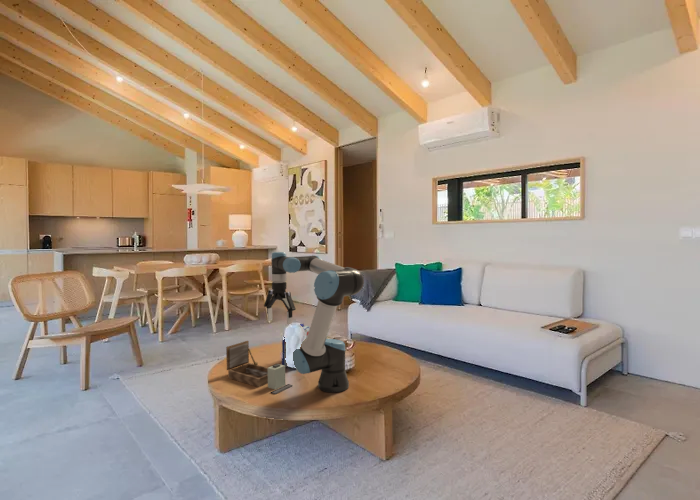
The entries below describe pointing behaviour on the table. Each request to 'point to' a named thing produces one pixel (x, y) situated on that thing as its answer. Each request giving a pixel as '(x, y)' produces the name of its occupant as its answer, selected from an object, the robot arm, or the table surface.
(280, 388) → the mat
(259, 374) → the case
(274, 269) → the robot arm
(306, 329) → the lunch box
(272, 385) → the block
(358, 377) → the table surface
